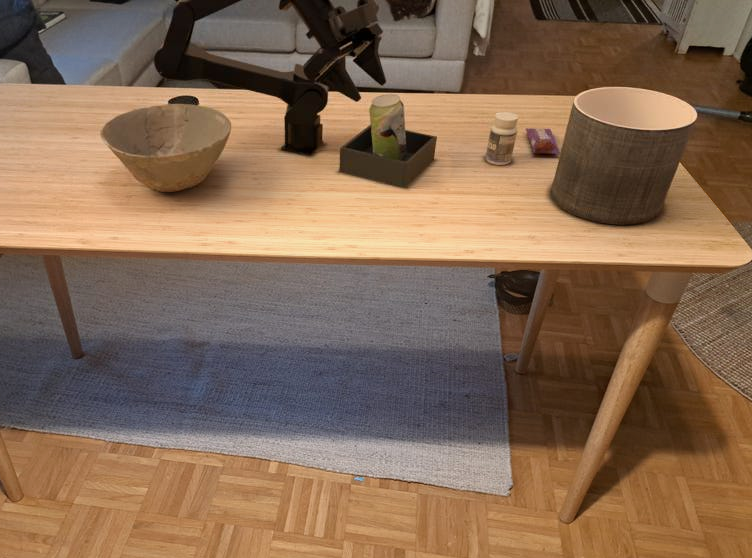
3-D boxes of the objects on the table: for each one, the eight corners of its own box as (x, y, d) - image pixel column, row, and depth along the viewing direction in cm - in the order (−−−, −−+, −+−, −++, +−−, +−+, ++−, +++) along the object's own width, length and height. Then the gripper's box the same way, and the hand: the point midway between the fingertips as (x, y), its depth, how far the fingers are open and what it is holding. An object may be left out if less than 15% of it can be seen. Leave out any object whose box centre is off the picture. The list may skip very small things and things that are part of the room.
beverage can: (411, 166, 125) (418, 100, 117) (374, 172, 123) (379, 106, 115) (396, 152, 129) (402, 88, 122) (360, 158, 128) (364, 94, 120)
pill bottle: (481, 155, 129) (489, 111, 124) (506, 154, 130) (515, 110, 124) (489, 166, 126) (498, 121, 120) (514, 164, 126) (524, 120, 120)
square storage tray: (339, 171, 125) (339, 147, 122) (371, 145, 133) (372, 122, 130) (405, 188, 120) (407, 163, 117) (434, 160, 128) (437, 136, 125)
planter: (673, 229, 108) (713, 132, 97) (557, 222, 110) (583, 126, 100) (647, 179, 121) (679, 89, 110) (544, 173, 123) (566, 84, 113)
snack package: (526, 123, 136) (551, 124, 135) (523, 133, 137) (549, 134, 136) (534, 147, 127) (562, 148, 126) (532, 157, 128) (559, 158, 128)
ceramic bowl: (182, 144, 135) (176, 94, 129) (261, 180, 123) (258, 126, 116) (86, 181, 124) (73, 127, 117) (161, 225, 111) (152, 168, 105)
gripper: (319, -6, 105) (378, 80, 107) (376, -30, 116) (428, 48, 119) (278, 40, 113) (333, 119, 116) (335, 14, 125) (384, 86, 127)
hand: (372, 92), depth 119 cm, fingers open, 9 cm apart
